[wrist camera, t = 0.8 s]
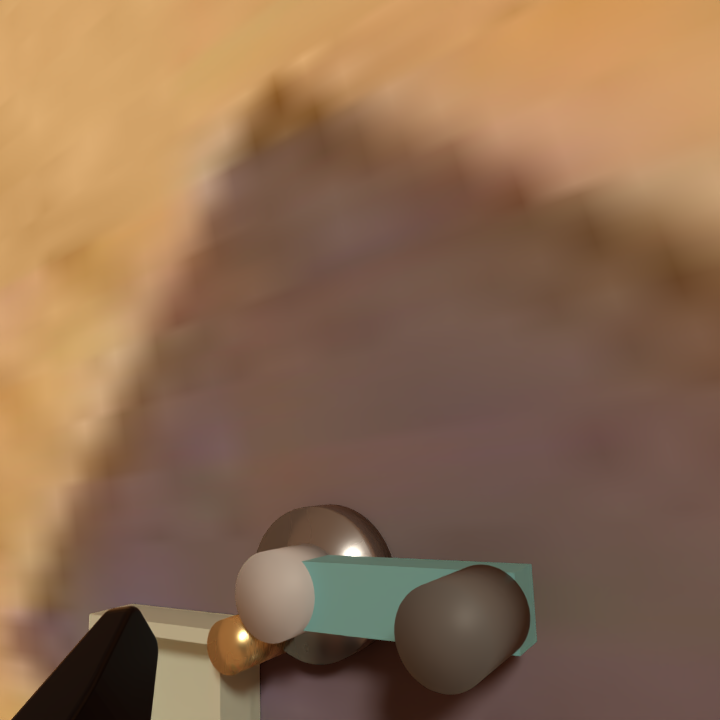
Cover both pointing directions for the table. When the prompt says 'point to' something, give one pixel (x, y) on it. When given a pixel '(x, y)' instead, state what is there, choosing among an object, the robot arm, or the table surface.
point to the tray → (194, 670)
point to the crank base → (242, 650)
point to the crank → (395, 608)
